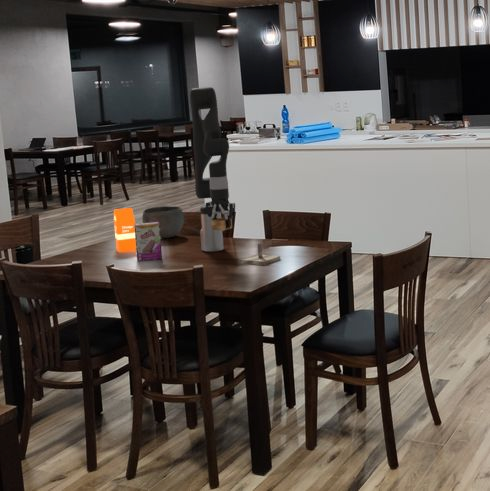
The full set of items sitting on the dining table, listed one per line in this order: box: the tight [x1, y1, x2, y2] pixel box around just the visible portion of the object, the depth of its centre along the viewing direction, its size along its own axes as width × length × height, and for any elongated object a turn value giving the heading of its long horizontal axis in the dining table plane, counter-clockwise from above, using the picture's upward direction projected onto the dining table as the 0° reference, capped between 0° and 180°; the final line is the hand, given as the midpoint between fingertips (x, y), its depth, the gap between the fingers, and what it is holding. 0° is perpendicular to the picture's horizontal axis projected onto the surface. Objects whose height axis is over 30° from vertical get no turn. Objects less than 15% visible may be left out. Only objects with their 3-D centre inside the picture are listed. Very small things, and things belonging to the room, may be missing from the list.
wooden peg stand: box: [240, 242, 281, 266], centre depth 362 cm, size 12×12×8 cm
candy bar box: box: [134, 222, 163, 262], centre depth 381 cm, size 11×5×16 cm, turn 100°
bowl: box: [141, 205, 185, 240], centre depth 434 cm, size 21×21×15 cm
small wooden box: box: [211, 217, 233, 232], centre depth 356 cm, size 6×6×4 cm
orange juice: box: [113, 207, 136, 253], centre depth 407 cm, size 8×9×20 cm
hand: (222, 227), depth 356 cm, fingers closed on small wooden box, 6 cm apart
